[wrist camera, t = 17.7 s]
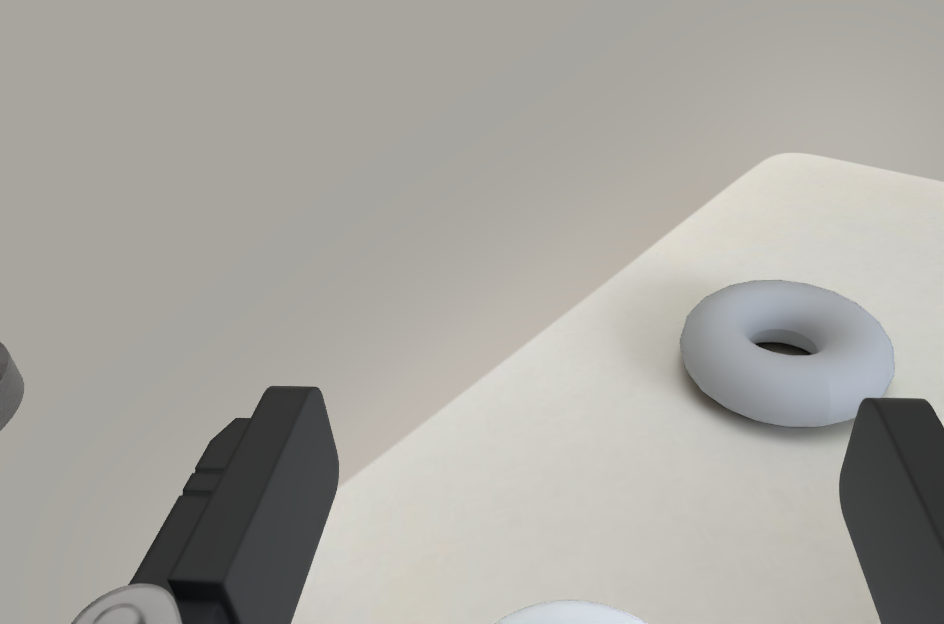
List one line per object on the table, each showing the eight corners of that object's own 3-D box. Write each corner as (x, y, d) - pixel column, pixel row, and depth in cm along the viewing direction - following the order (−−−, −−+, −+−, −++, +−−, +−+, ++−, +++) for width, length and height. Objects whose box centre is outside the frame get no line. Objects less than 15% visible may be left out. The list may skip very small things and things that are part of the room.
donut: (787, 303, 44) (639, 349, 41) (798, 251, 42) (644, 296, 39) (933, 404, 36) (763, 470, 33) (954, 346, 34) (776, 411, 31)
